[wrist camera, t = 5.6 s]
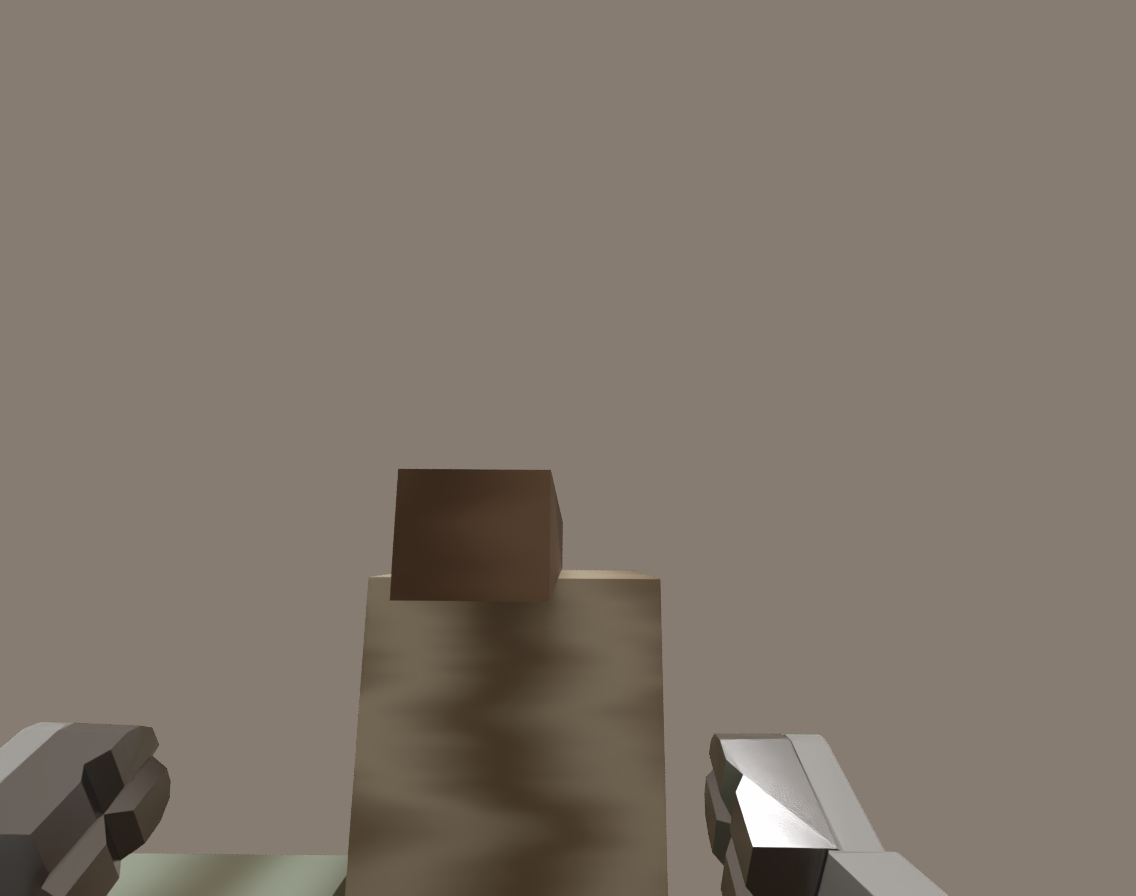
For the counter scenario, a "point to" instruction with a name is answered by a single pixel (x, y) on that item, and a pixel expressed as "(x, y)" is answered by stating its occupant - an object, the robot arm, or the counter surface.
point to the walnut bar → (476, 536)
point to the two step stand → (486, 756)
